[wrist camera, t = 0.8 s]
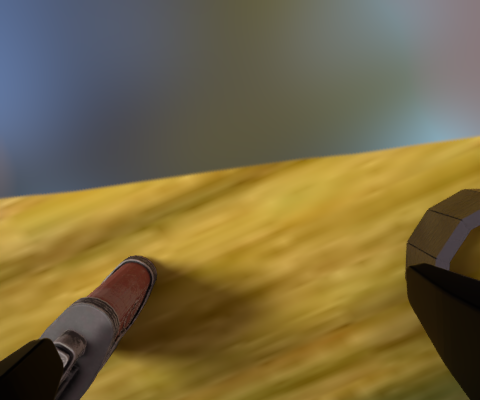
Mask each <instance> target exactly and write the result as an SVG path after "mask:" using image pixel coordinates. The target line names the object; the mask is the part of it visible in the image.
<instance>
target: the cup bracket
mask: <svg viewBox="0 0 480 400" xmlns="http://www.w3.org/2000/svg"><path fill="white" fill-rule="evenodd" d="M479 225H480V189H464V190H461V191H460V192H458V193H456V194H454V195H452V196H451V197H449V198H447V199H445V200H444V201H442V202H440V203H438V204H437V205H435V206H433V207H431V208H429V210H427V212H426V213H425V215H424V216H423V218H422V219H421V221H420V222H419V224H418V226H417V227H416V229H415V230H414V232H413V233H412V235H411V237H410V238H409V240H408V241H407V242H408V243H407V250H406V268H407V267H408V266H409V265H414V264H419V263H427V264H430V265H434V266H437V267H440V268H443V269H446V270H449V267H450V261H451V259H452V258H453V256H454V255H455V253H456V252H457V250H458V249H459V247H460V246H461V244H462V243H463V241H464V240H465V238H466V237H467V235H468V234H469V232H470V231H471V230H472V229H474V228H475V227H477V226H479ZM405 278H406V273H405Z"/></svg>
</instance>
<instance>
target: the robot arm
mask: <svg viewBox="0 0 480 400" xmlns="http://www.w3.org/2000/svg"><path fill="white" fill-rule="evenodd" d="M406 282H407V295H408V299H409V302H410V305H411V307H412V308H413V310H414V312H415V314H416V315H417V317H418V319H419V320H420V322H421V324H422V326H423V327H424V329H425V331H426V333H427V334H428V336H429V338H430V340H431V341H432V343H433V345H434V347H435V348H436V350H437V352H438V354H439V355H440V357H441V359H442V360H443V362H444V363H445V365H446V366H447V368H448V369H449V371H450V372H451V374H452V375H453V376H454V378H455V379H456V381H457V382H458V383H459V385H460V386H461V388H462V389H463V390H464V392H465V393H466V395H467V396H468V397H469V399H470V400H480V281H479V280H476V279H473V278H470V277H467V276H464V275H461V274H458V273H455V272H452V271H449V270H446V269H443V268H440V267H437V266H434V265H430V264H427V263H419V264H414V265H409V266H408V267H407V268H406ZM63 369H64V365H63V361H62V359H61V357H60V355H59V353H58V351H57V349H56V347H55V345H54V343H53V341H52V340H51V339H49V338H42V339H37V340H33V341H31V342H29V343H27V344H26V345H24V346H23V347H21V348H20V349H18V350H17V351H15V352H14V353H12V354H11V355H9V356H8V357H6V358H5V359H3V360H2V361H0V400H54V399H55V396H56V393H57V390H58V386H59V383H60V380H61V377H62V374H63Z"/></svg>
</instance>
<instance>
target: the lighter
mask: <svg viewBox="0 0 480 400" xmlns="http://www.w3.org/2000/svg"><path fill="white" fill-rule="evenodd" d="M156 278H157V272H156V268H155V267H154V265H153V263H152V262H150V261H149V260H148V259H146V258H144V257H142V256H136V255H135V256H130V257H128V258H127V259H125V260H124V261H123V262H122V263H120V264H119V265H118V266H117V267H116V268H115V269H114V270H113V271H112V272H111V273H110V274H109V275H108V276H107V277H106V278H105V280H104V281H103V282H102V283H101V285H100V286H99V287H97V288H96V289H95V290H94V291H93V292H92V293H91V294H89V295H88V296H87V297H84V298H80V299H79V300H77V301H76V302H74V303H73V304H72V305H71V306H70V307H68V308H67V309H66V310H65V311H64V312H63V313H62V314H61V315H60V316H59V317H58V318H57V319H56V320H55V321H54V322H53V323H52V324H51V325H50V326H49V327H48V328H47V329H46V330H45V332H44V333H43V334H42V336H41V337H40V338H39V339H42V338H49V339H51V340H52V341H53V343H54V345H55V347H56V349H57V351H58V353H59V355H60V357H61V359H62V361H63V365H64V369H63V374H62V377H61V380H60V383H59V386H58V390H57V393H56V396H55V399H54V400H80V398H81V397H82V396H83V395H84V393H85V392H86V391H87V390H88V388H89V387H90V385H91V384H92V382H93V381H94V379H95V378H96V376H97V374H98V372H99V371H100V370H101V369H102V367H103V366H104V365H105V363H106V362H107V360H108V359H109V357H110V356H111V355H112V353H113V352H114V350H115V348H116V347H117V345H118V343H119V341H120V340H121V338H122V336H123V335H124V334H125V333H126V332H127V330H128V329H129V328H130V327H131V325H132V324H133V323H134V321H135V320H136V318H137V317H138V315H139V314H140V312H141V310H142V308H143V307H144V305H145V303H146V302H147V300H148V298H149V296H150V293H151V291H152V288H153V286H154V284H155V281H156Z"/></svg>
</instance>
